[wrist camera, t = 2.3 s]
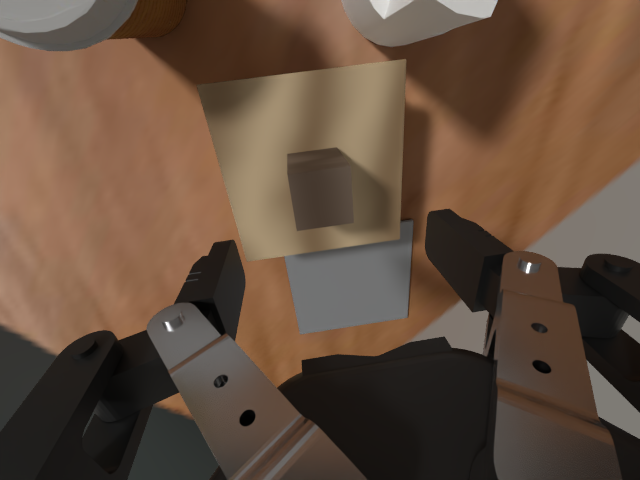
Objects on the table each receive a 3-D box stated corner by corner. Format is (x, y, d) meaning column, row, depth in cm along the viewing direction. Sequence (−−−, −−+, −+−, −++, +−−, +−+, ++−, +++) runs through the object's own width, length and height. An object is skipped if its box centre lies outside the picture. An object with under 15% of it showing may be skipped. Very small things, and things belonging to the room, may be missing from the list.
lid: (400, 60, 19) (445, 51, 13) (395, 233, 25) (424, 274, 20) (200, 84, 18) (165, 86, 13) (248, 255, 25) (237, 302, 19)
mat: (412, 219, 30) (413, 220, 30) (406, 315, 37) (407, 317, 37) (281, 238, 30) (281, 240, 29) (300, 331, 37) (300, 334, 36)
